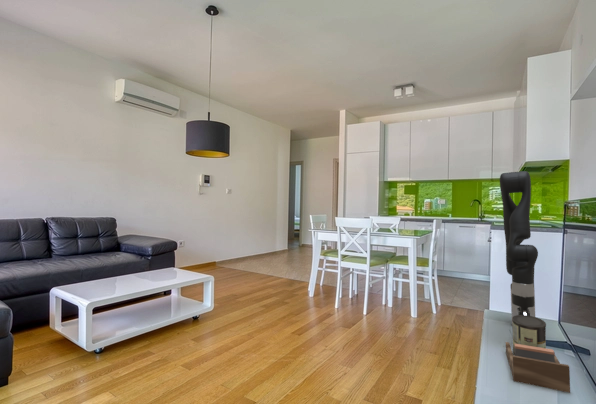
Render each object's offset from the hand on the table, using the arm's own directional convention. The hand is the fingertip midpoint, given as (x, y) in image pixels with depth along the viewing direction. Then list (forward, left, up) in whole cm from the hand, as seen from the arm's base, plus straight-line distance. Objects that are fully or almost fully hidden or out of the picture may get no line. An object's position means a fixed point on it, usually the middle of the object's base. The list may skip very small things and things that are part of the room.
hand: (524, 335), depth 126 cm
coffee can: (+10, 0, -4) cm, 11 cm away
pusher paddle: (+20, 0, -4) cm, 21 cm away
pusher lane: (+20, 0, -5) cm, 20 cm away
